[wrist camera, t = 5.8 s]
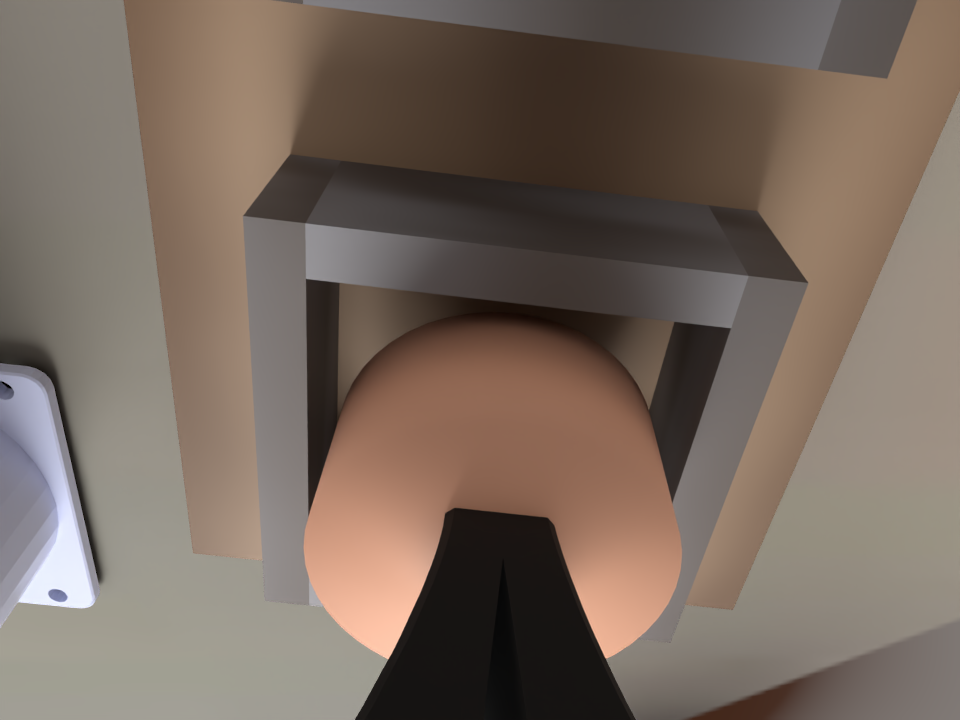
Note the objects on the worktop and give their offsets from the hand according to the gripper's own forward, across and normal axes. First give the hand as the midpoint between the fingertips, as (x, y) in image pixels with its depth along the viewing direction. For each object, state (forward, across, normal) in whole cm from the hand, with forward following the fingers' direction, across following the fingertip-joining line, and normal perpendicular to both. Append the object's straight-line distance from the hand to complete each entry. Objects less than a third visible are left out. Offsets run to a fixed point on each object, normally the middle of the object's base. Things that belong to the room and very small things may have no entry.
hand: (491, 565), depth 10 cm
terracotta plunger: (+2, 0, 0) cm, 2 cm away
